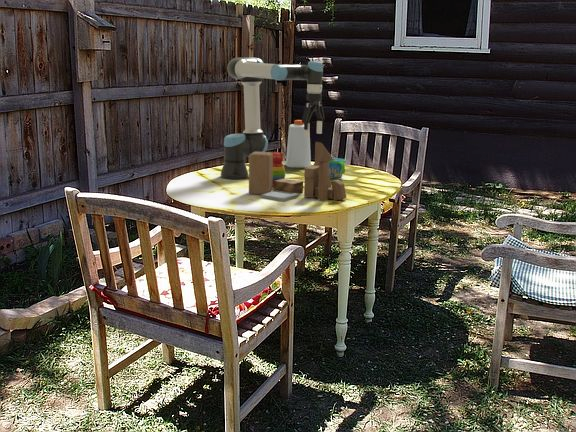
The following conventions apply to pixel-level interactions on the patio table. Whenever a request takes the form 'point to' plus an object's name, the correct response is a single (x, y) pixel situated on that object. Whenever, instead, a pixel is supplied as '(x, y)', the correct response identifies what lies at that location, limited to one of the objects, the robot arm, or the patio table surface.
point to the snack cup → (337, 167)
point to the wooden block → (260, 172)
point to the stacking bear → (278, 167)
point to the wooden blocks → (322, 178)
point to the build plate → (280, 195)
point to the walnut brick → (289, 186)
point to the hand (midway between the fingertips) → (312, 134)
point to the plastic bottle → (298, 146)
